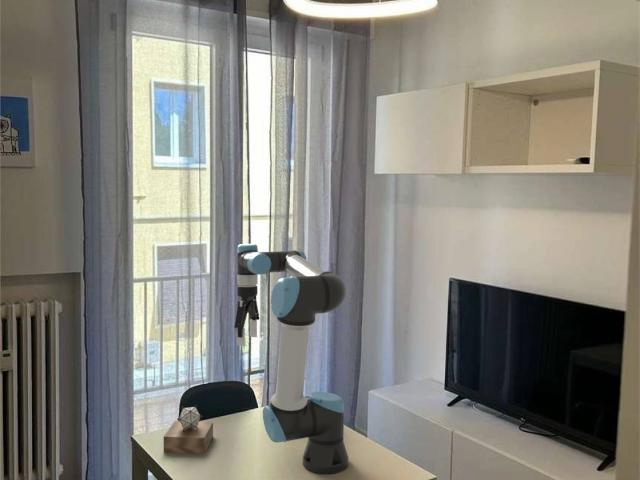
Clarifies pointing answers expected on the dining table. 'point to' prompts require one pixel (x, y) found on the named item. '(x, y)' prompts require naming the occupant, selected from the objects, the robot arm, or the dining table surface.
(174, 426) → the walnut block
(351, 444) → the dining table surface
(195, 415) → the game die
